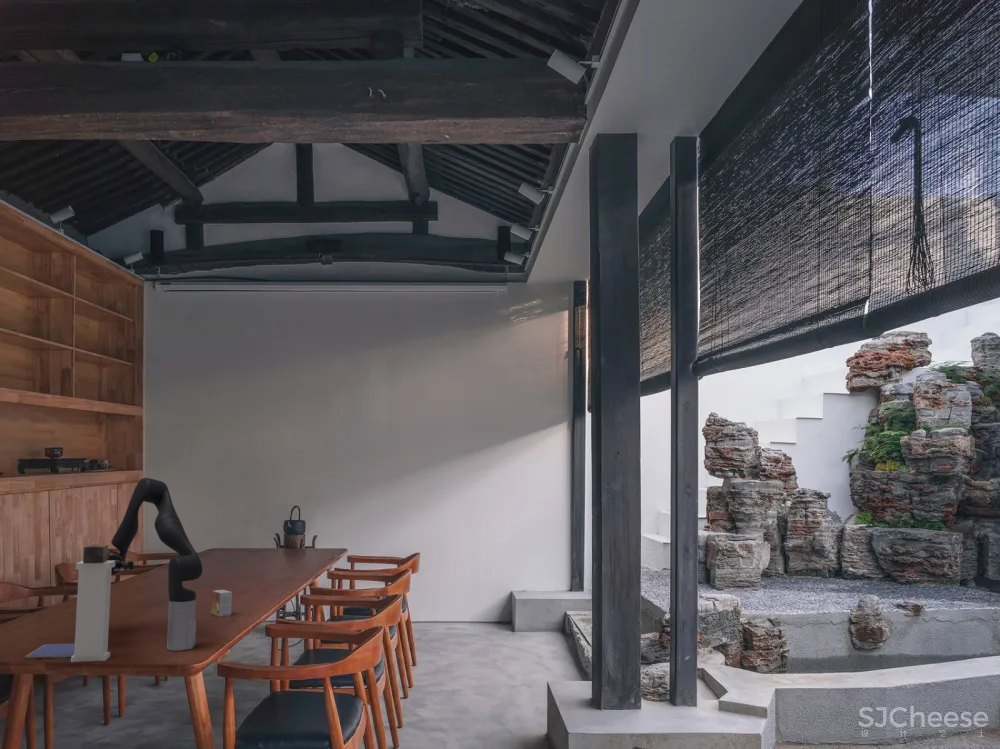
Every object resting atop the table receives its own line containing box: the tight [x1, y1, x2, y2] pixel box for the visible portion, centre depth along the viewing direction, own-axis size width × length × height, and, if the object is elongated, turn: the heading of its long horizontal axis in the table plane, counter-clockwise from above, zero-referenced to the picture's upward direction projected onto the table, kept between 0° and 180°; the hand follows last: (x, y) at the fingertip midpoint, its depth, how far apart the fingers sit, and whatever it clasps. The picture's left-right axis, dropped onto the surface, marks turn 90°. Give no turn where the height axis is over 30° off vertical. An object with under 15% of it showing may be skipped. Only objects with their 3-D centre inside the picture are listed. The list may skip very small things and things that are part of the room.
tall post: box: [70, 560, 115, 663], centre depth 288 cm, size 11×6×33 cm, turn 100°
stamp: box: [82, 544, 111, 563], centre depth 293 cm, size 6×15×6 cm, turn 10°
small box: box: [210, 589, 233, 617], centre depth 363 cm, size 8×6×10 cm
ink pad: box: [24, 643, 75, 659], centre depth 295 cm, size 16×18×1 cm
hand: (112, 567), depth 300 cm, fingers open, 8 cm apart
